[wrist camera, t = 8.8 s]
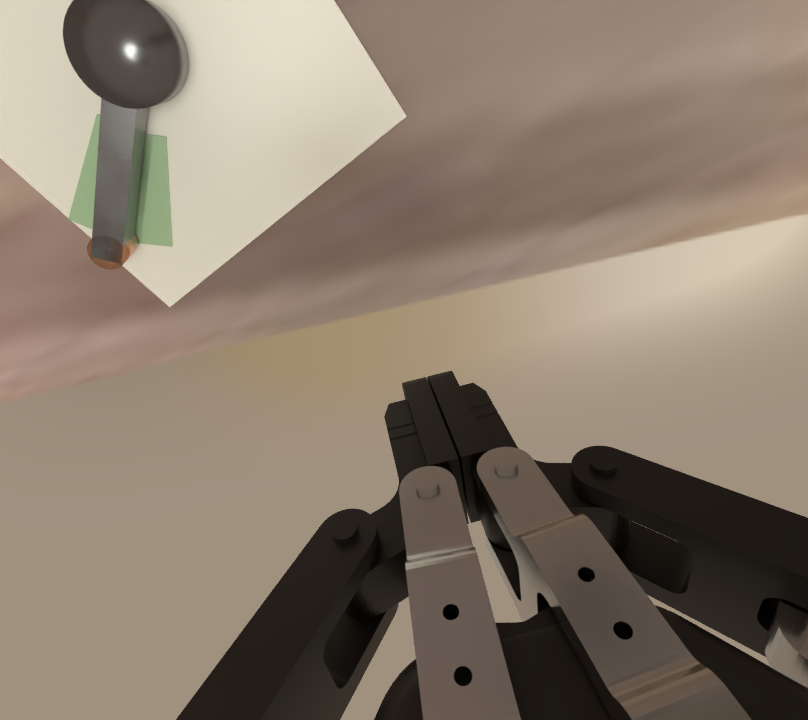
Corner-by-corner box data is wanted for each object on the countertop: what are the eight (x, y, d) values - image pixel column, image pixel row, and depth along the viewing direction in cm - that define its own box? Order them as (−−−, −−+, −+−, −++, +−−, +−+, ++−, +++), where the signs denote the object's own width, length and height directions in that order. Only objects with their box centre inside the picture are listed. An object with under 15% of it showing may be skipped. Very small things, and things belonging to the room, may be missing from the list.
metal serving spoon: (88, -25, 24) (65, -35, 22) (195, 18, 26) (184, 14, 24) (74, 243, 30) (54, 258, 28) (162, 265, 32) (151, 281, 30)
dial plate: (101, -366, 20) (85, -399, 19) (402, 114, 32) (407, 116, 30) (-190, -28, 24) (-221, -34, 22) (174, 298, 35) (169, 308, 34)
